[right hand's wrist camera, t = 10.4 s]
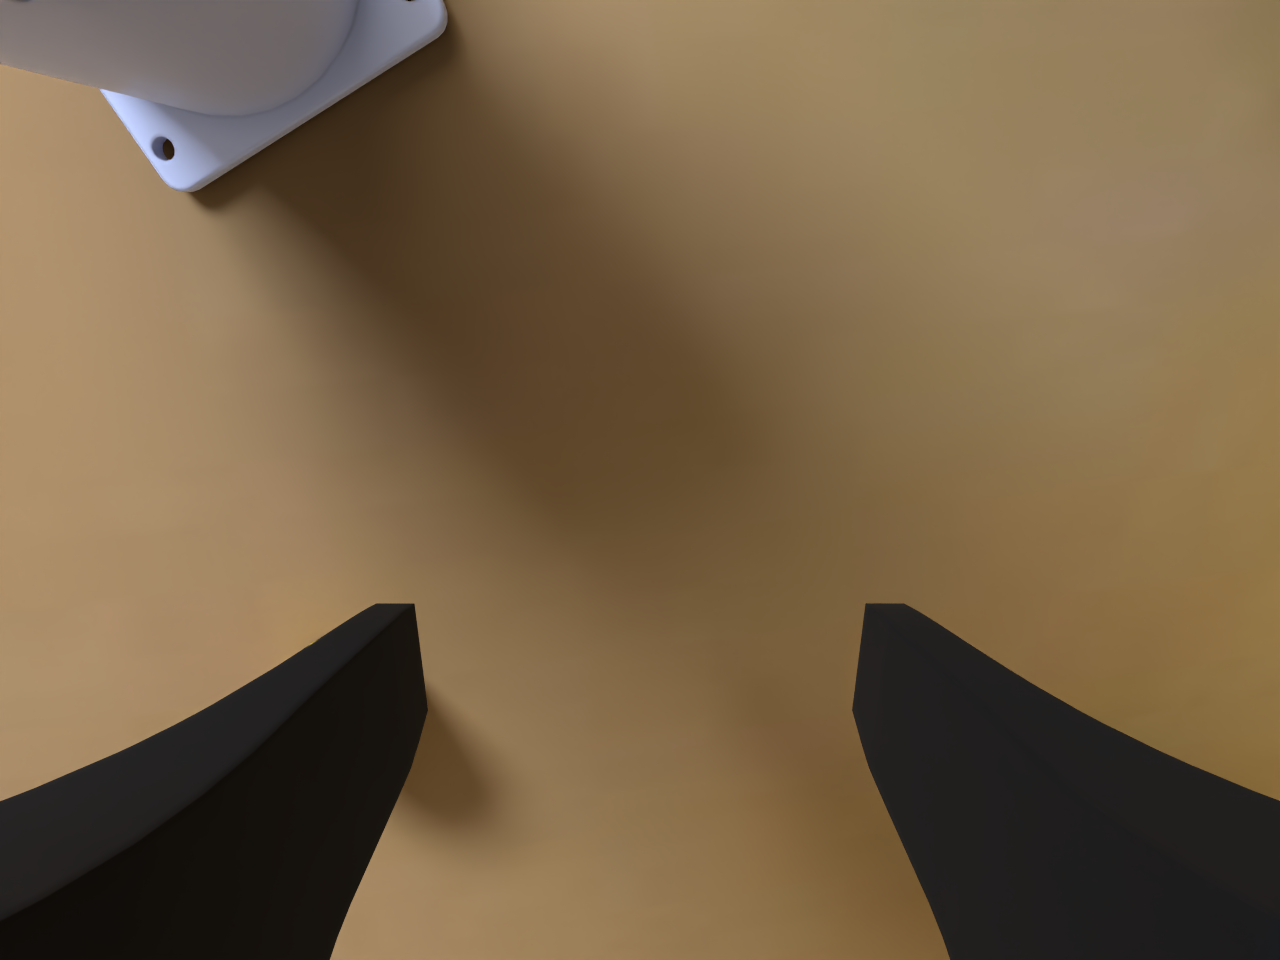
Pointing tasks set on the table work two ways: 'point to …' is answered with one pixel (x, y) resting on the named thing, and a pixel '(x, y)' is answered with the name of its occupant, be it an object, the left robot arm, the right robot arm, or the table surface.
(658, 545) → the table surface
